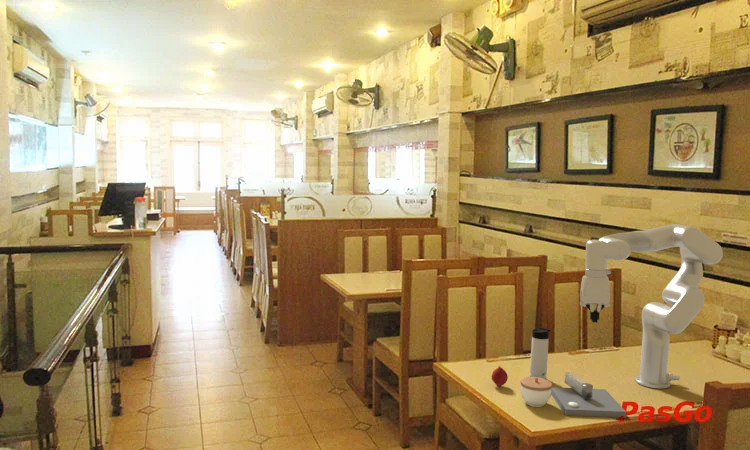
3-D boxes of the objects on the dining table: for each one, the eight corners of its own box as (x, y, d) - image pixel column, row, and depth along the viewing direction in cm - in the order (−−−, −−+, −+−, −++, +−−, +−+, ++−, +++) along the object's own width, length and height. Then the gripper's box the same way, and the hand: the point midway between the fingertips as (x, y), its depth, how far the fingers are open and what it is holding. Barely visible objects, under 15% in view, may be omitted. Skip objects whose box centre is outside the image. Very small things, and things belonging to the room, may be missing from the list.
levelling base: (605, 394, 224) (605, 387, 224) (625, 417, 204) (626, 409, 204) (550, 392, 224) (550, 385, 224) (565, 415, 204) (565, 407, 204)
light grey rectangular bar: (593, 400, 213) (594, 386, 212) (584, 400, 212) (585, 387, 211) (571, 384, 227) (572, 372, 226) (562, 385, 226) (563, 372, 226)
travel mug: (547, 382, 235) (550, 331, 233) (530, 380, 236) (532, 330, 234) (546, 376, 241) (549, 327, 239) (529, 375, 242) (532, 326, 240)
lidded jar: (542, 412, 206) (544, 385, 205) (513, 403, 213) (515, 377, 212) (556, 403, 214) (557, 377, 213) (528, 395, 221) (529, 370, 220)
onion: (507, 385, 231) (508, 364, 230) (505, 390, 225) (507, 369, 224) (492, 382, 233) (493, 362, 232) (490, 388, 227) (491, 367, 226)
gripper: (614, 271, 229) (613, 319, 231) (573, 271, 231) (572, 318, 233) (619, 275, 221) (617, 325, 223) (576, 275, 224) (575, 323, 226)
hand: (594, 321), depth 228 cm, fingers closed
